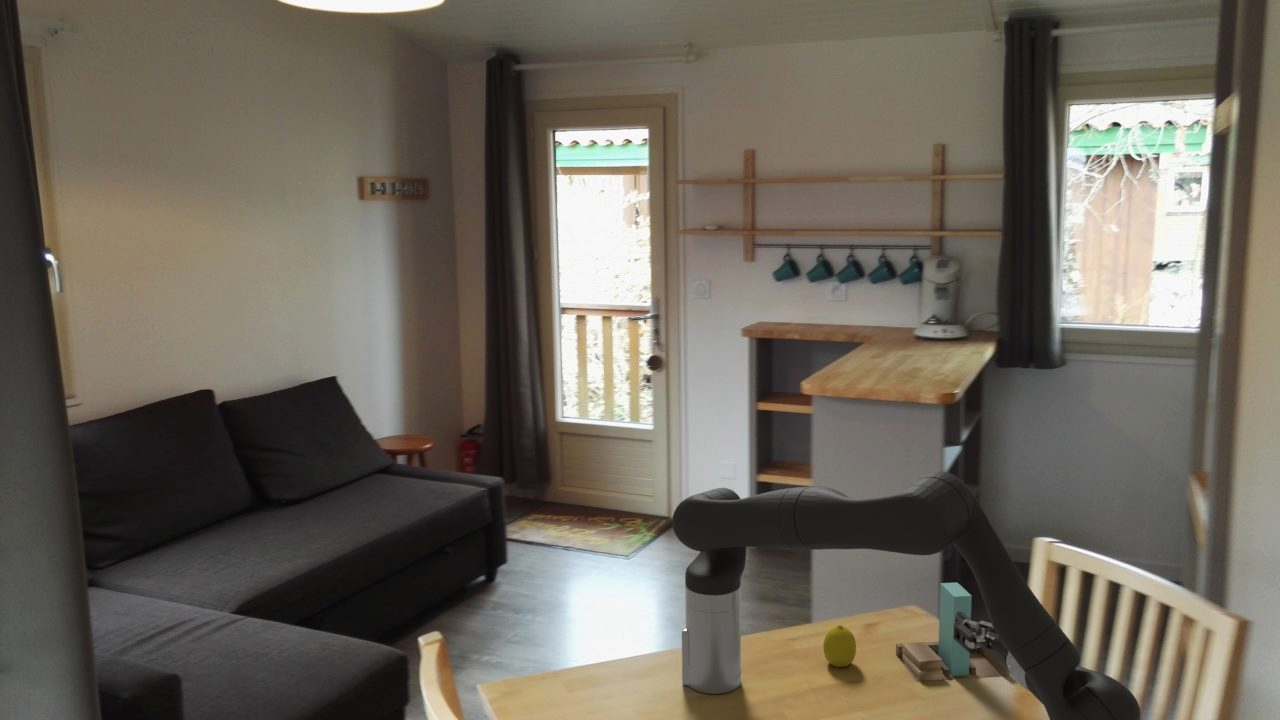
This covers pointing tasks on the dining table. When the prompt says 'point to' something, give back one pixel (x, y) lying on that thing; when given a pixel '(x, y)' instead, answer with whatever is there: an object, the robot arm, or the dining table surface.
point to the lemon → (839, 646)
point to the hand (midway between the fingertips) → (985, 615)
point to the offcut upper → (922, 655)
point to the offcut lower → (923, 671)
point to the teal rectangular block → (949, 648)
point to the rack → (979, 664)
